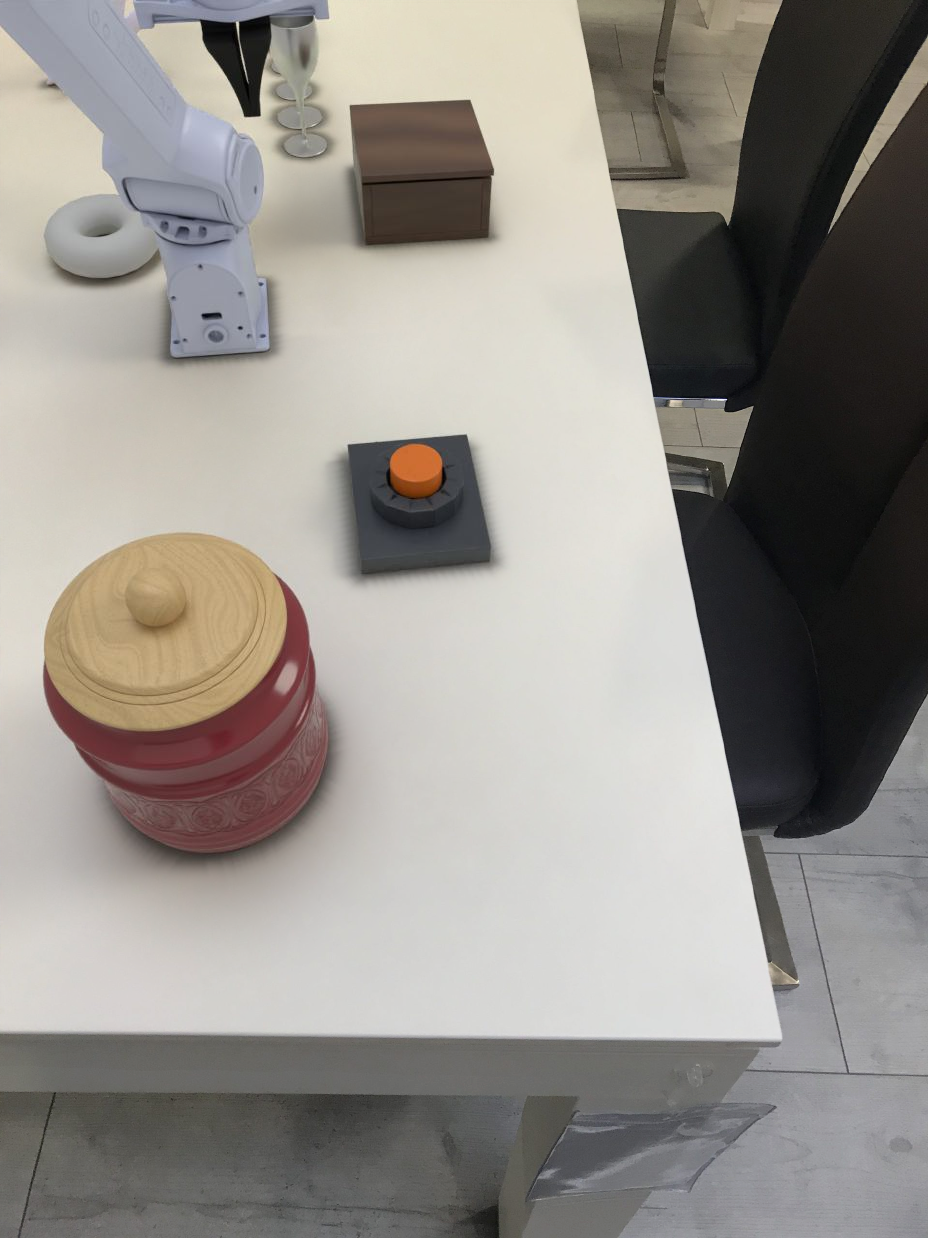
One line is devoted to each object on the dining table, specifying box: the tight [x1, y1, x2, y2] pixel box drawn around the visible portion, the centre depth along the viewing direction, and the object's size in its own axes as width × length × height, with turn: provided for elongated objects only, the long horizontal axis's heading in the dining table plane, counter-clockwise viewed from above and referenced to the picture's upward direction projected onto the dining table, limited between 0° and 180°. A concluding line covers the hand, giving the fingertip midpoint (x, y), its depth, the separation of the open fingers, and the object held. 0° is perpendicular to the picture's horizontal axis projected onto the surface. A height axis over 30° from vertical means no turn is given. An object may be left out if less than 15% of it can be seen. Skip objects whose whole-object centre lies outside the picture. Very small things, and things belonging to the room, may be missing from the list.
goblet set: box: [269, 15, 328, 158], centre depth 95 cm, size 28×6×13 cm, turn 12°
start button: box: [390, 444, 442, 498], centre depth 63 cm, size 4×4×2 cm
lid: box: [349, 99, 495, 183], centre depth 83 cm, size 13×12×1 cm
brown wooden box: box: [349, 113, 493, 246], centre depth 86 cm, size 13×12×6 cm
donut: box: [43, 193, 159, 279], centre depth 81 cm, size 10×4×10 cm
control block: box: [347, 433, 492, 575], centre depth 65 cm, size 11×9×4 cm
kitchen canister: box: [42, 532, 329, 854], centre depth 48 cm, size 13×13×18 cm
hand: (252, 110), depth 77 cm, fingers closed
